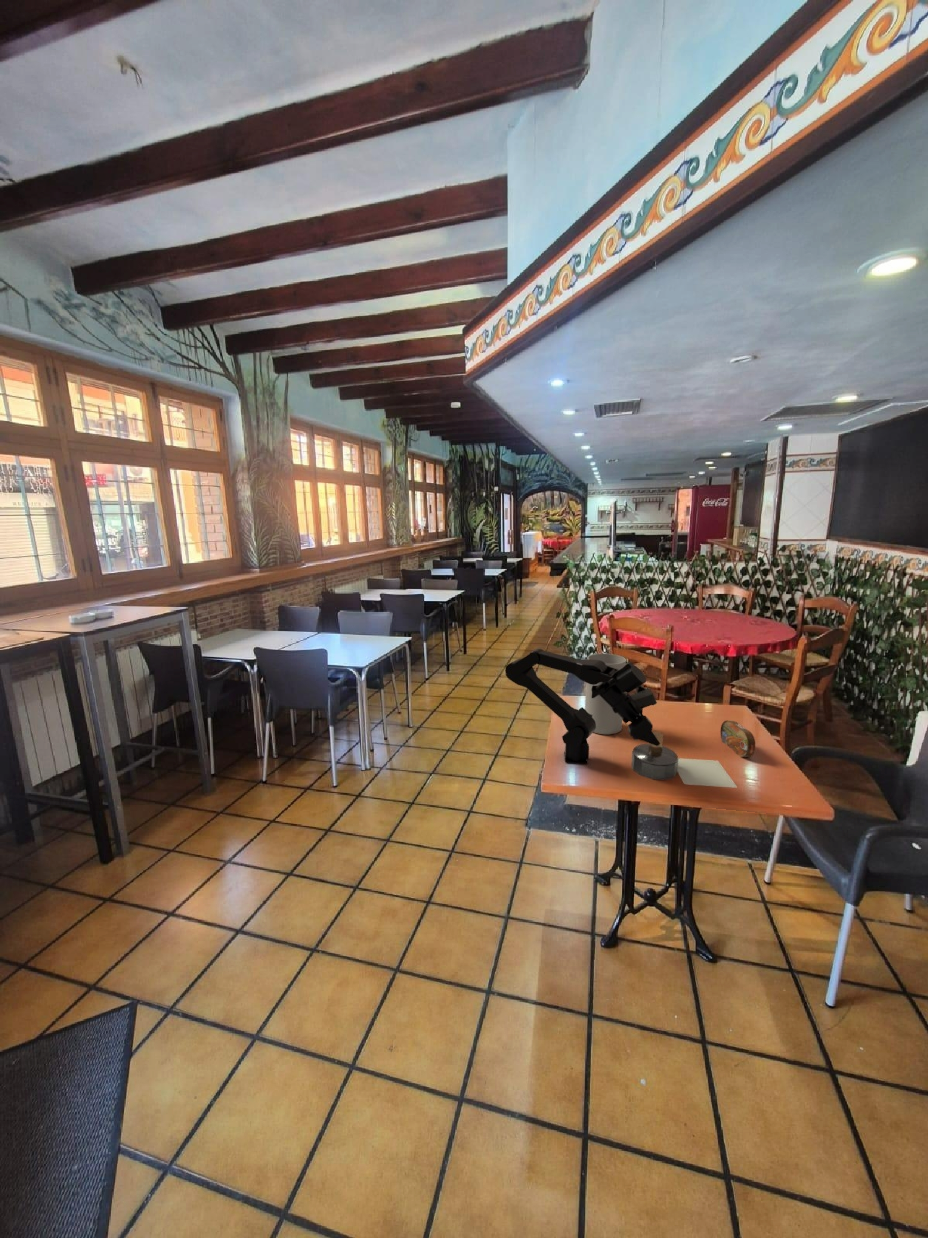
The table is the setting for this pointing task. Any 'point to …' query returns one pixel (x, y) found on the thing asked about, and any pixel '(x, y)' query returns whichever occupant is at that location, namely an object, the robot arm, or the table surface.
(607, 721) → the cylinder vase
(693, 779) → the mat
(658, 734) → the cloche
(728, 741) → the tin
